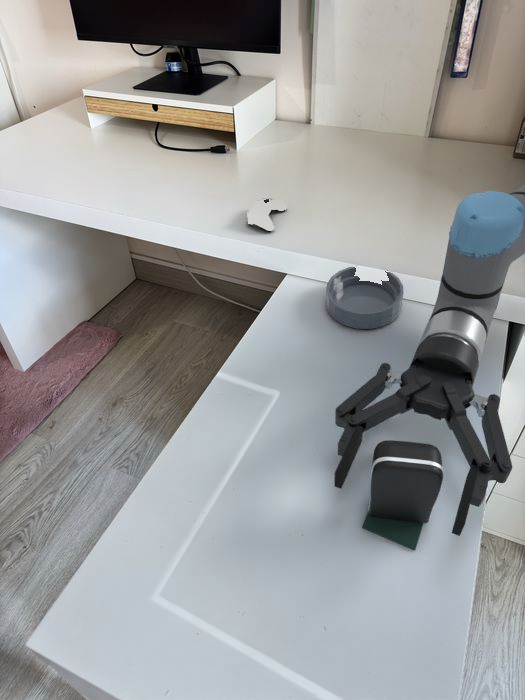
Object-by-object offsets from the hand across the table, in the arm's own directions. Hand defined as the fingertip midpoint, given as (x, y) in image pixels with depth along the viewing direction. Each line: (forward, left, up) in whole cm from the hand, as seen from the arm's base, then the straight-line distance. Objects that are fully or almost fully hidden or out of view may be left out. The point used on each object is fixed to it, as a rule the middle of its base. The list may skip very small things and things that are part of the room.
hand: (395, 504), depth 50 cm
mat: (0, -4, -8) cm, 9 cm away
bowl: (+15, -36, -8) cm, 40 cm away
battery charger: (0, -4, -8) cm, 9 cm away
